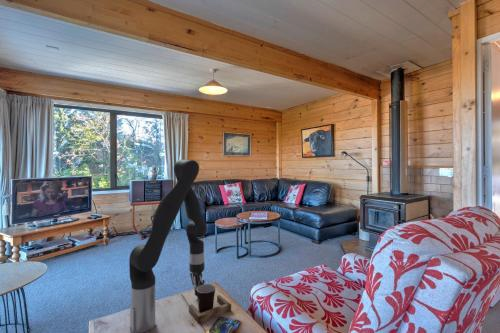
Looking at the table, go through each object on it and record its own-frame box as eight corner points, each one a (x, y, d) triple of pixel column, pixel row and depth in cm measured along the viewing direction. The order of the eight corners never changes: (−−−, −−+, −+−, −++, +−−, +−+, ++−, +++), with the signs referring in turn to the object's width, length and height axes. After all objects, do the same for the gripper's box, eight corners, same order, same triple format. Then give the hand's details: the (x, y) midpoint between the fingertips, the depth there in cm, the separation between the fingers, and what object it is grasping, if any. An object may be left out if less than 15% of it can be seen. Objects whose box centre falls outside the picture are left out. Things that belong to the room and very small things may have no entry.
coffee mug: (213, 315, 110) (213, 293, 110) (194, 315, 111) (194, 292, 111) (218, 301, 122) (218, 281, 122) (200, 301, 122) (200, 281, 122)
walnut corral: (198, 323, 105) (198, 316, 105) (189, 311, 114) (189, 305, 114) (231, 311, 114) (231, 304, 114) (219, 300, 123) (219, 294, 123)
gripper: (184, 258, 129) (185, 292, 129) (195, 267, 118) (195, 303, 118) (198, 255, 133) (198, 287, 133) (209, 263, 122) (209, 298, 122)
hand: (197, 295), depth 125 cm, fingers closed
